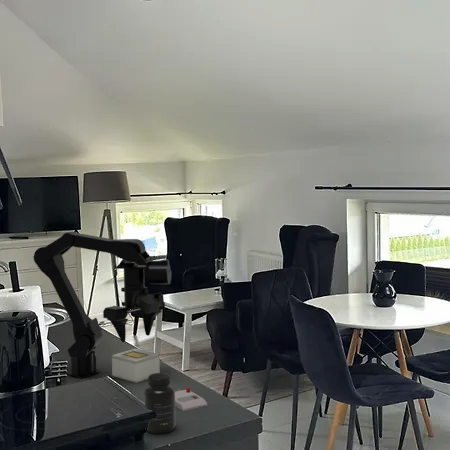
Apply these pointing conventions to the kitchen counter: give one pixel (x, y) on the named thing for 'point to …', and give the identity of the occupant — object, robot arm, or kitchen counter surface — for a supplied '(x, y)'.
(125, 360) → the coin box
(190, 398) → the white control pad
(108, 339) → the kitchen counter surface
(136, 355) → the yellow rectangular block
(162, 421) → the supplement bottle
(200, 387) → the kitchen counter surface
